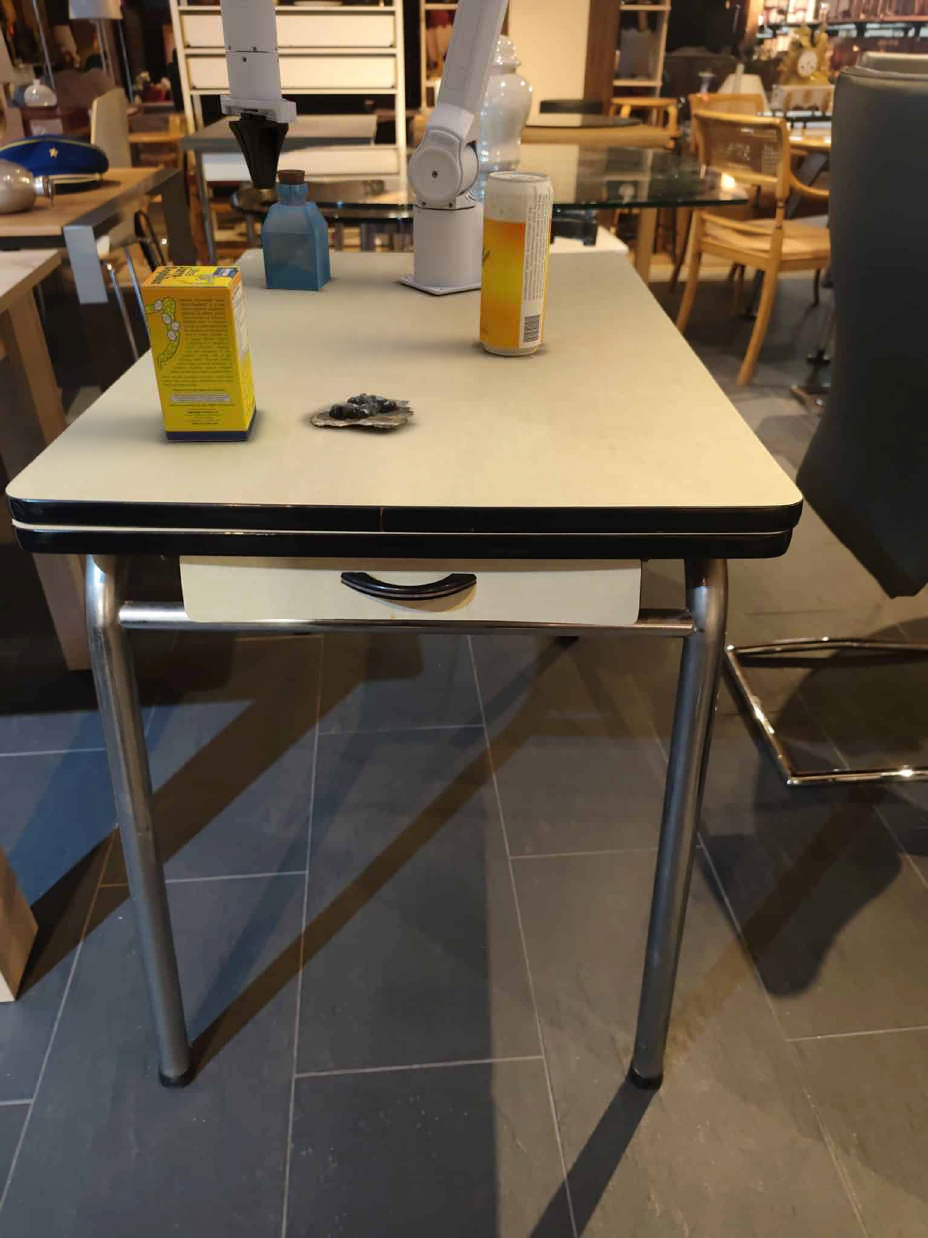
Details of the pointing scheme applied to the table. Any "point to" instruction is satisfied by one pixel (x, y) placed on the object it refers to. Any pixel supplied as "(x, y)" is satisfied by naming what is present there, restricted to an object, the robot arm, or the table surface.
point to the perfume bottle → (295, 238)
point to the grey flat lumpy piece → (365, 412)
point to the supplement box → (200, 352)
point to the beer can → (515, 261)
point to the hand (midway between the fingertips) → (264, 188)
